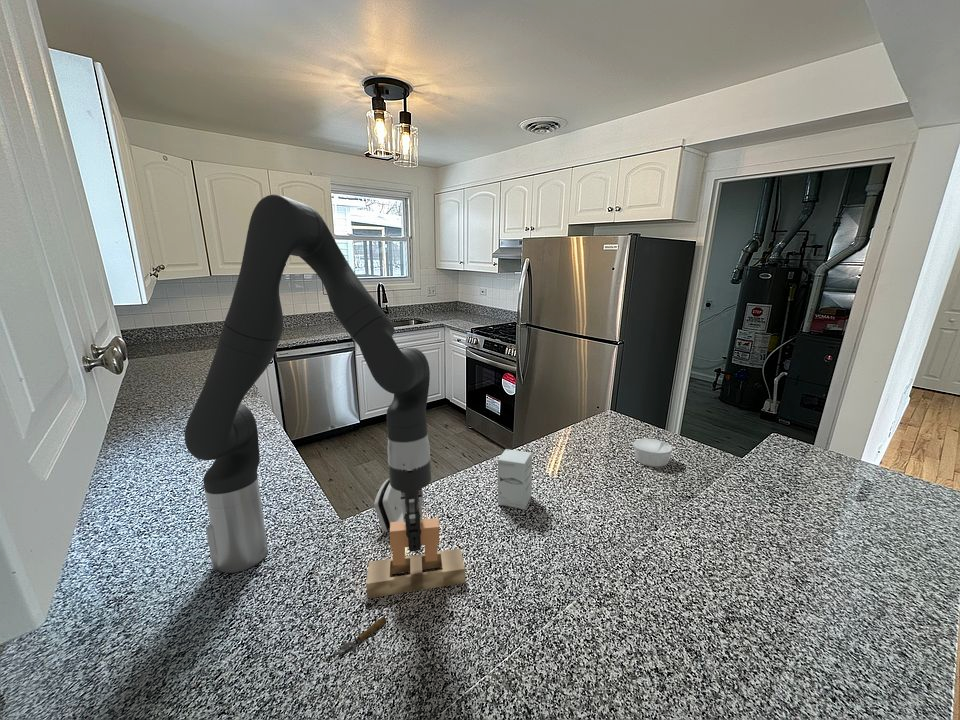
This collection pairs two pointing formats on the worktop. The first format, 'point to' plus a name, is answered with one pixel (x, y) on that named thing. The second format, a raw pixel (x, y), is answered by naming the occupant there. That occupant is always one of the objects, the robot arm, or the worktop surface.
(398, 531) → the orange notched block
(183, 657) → the worktop surface
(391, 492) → the grey piece
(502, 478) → the supplement box
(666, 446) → the ramekin
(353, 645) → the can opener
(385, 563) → the rail
